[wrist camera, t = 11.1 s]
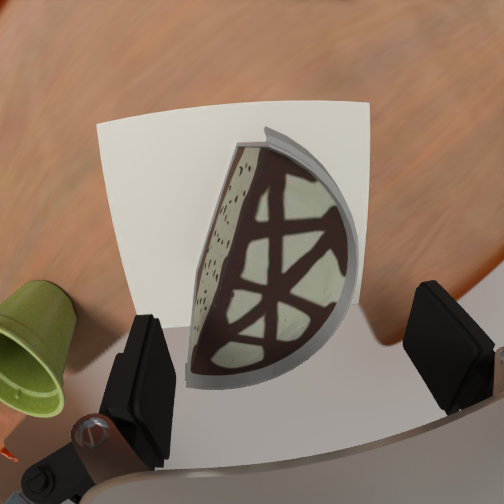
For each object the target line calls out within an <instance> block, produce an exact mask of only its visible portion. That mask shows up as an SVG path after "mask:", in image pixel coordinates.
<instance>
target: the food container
mask: <svg viewBox="0 0 504 504" xmlns="http://www.w3.org/2000/svg"><path fill="white" fill-rule="evenodd" d="M264 132H265V135H266V138H267V139H266V142H242V143H237V144H236V147H235V150H234V153H233V156H232V159H231V162H230V165H229V168H228V171H227V174H226V177H225V180H224V183H223V186H222V189H221V192H220V195H219V198H218V201H217V204H216V207H215V210H214V214H213V217H212V220H211V223H210V226H209V230H208V233H207V236H206V239H205V242H204V246H203V249H202V252H201V256H200V259H199V262H198V266H197V269H196V275H195V284H194V294H193V304H192V314H191V325H190V337H189V349H188V362H187V363H186V365H185V381H186V387H188V388H195V389H203V390H224V389H234V388H242V387H246V386H251V385H255V384H259V383H262V382H265V381H268V380H271V379H273V378H276V377H278V376H280V375H282V374H284V373H286V372H288V371H290V370H292V369H294V368H295V367H297V366H298V365H300V364H302V363H303V362H305V361H306V360H308V359H309V358H310V357H311V356H312V355H313V354H314V353H316V352H317V351H318V350H319V349H320V348H322V346H323V345H324V344H325V343H326V342H327V341H328V340H329V339H330V337H331V336H332V335H333V334H334V333H335V331H336V329H337V328H338V327H339V325H340V323H341V322H342V320H343V319H344V317H345V315H346V313H347V311H348V308H349V306H350V304H351V302H352V299H353V295H354V292H355V288H356V285H357V277H358V268H359V250H358V236H357V232H356V228H355V224H354V220H353V216H352V214H351V212H350V210H349V207H348V205H347V203H346V201H345V199H344V196H343V195H342V193H341V191H340V189H339V188H338V186H337V184H336V183H335V181H334V180H333V178H332V177H331V176H330V174H329V173H328V171H327V170H326V169H325V167H324V166H323V165H322V164H321V163H320V162H319V161H318V160H317V159H316V158H315V157H314V156H313V155H312V154H311V153H310V152H309V151H308V150H307V149H306V148H304V147H303V146H301V145H300V144H298V143H297V142H295V141H294V140H292V139H291V138H289V137H288V136H286V135H284V134H282V133H280V132H277V131H275V130H273V129H271V128H268V127H266V126H265V127H264Z"/></svg>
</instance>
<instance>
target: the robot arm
mask: <svg viewBox="0 0 504 504" xmlns="http://www.w3.org/2000/svg"><path fill="white" fill-rule="evenodd" d="M494 346H495V344H494V342H493V341H492V340H491V339H490V338H489V337H488V336H487V334H486V333H485V332H484V331H483V330H482V329H481V328H480V327H479V325H478V324H477V323H476V322H475V321H474V320H473V319H472V318H471V317H470V316H469V314H468V313H467V312H466V311H465V310H464V309H463V308H462V307H461V306H460V305H459V304H458V303H457V302H456V301H455V300H454V299H453V298H452V297H451V296H450V295H449V293H448V292H447V291H446V290H445V289H444V288H443V287H442V286H441V285H440V284H439V283H438V282H437V281H435V280H431V281H426V282H422V283H420V285H419V287H417V288H416V291H415V296H414V300H413V304H412V308H411V312H410V316H409V320H408V324H407V327H406V331H405V334H404V338H403V347H404V350H405V351H406V353H407V354H408V356H409V357H410V359H411V361H412V362H413V364H414V366H415V367H416V369H417V370H418V372H419V374H420V375H421V377H422V378H423V380H424V382H425V383H426V385H427V387H428V388H429V390H430V392H431V393H432V395H433V397H434V398H435V400H436V402H437V404H438V405H439V407H440V408H441V409H442V410H445V412H446V414H447V416H446V417H444V418H441V419H439V420H437V421H434V422H431V423H428V424H426V425H423V426H421V427H417V428H415V429H412V430H409V431H406V432H403V433H400V434H397V435H393V436H390V437H387V438H384V439H381V440H377V441H373V442H370V443H366V444H363V445H359V446H354V447H350V448H346V449H342V450H338V451H333V452H328V453H324V454H319V455H313V456H309V457H303V458H297V459H291V460H284V461H277V462H270V463H261V464H252V465H241V466H230V467H217V468H196V469H174V470H157V471H155V467H161V468H163V467H164V459H169V455H170V441H171V430H172V418H173V407H174V397H175V387H176V373H175V369H174V366H173V363H172V360H171V357H170V354H169V351H168V347H167V344H166V341H165V337H164V334H163V330H162V327H161V323H160V320H159V318H154V316H153V315H152V314H144V315H136V316H135V318H134V321H133V324H132V327H131V330H130V333H129V337H128V340H127V343H126V346H125V349H124V353H118V354H117V355H116V357H115V360H114V363H113V366H112V369H111V372H110V376H109V379H108V382H107V385H106V389H105V392H104V396H103V399H102V403H101V406H100V410H99V413H98V414H97V413H94V414H88V415H85V416H83V417H81V418H80V419H78V420H77V421H76V423H75V424H74V425H73V427H72V429H71V434H70V438H71V442H70V443H68V444H67V445H65V446H64V447H62V448H60V449H59V450H57V451H55V452H54V453H52V454H51V455H49V456H47V457H46V458H44V459H42V460H41V461H39V462H37V463H36V464H34V465H32V466H31V467H30V468H28V469H27V470H26V471H25V473H24V475H23V477H22V481H21V487H22V490H21V491H20V492H19V493H18V492H17V491H15V492H14V493H13V494H12V495H11V496H10V497H9V499H8V500H7V501H6V502H5V503H4V504H504V347H501V348H499V349H497V351H496V352H494V350H493V348H494ZM460 409H461V411H459V410H460Z"/></svg>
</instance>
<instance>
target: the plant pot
mask: <svg viewBox="0 0 504 504" xmlns="http://www.w3.org/2000/svg"><path fill="white" fill-rule="evenodd" d="M76 322H77V317H76V315H75V313H74V310H73V306H72V303H71V301H70V299H69V298H68V297H67V295H66V294H65V293H64V292H63V291H62V290H61V289H59V288H58V287H57V286H55V285H53V284H52V283H49V282H47V281H29V282H27V283H26V284H24V285H23V286H22V287H21V288H19V289H18V290H17V291H16V292H15V293H13V294H12V295H11V296H10V297H9V298H7V299H6V300H5V301H4V302H3V303H1V304H0V401H2V402H3V403H5V404H6V405H8V406H9V407H11V408H13V409H15V410H18V411H20V412H22V413H25V414H28V415H32V416H35V417H52V416H56V415H57V414H59V413H60V412H61V411H62V409H63V407H64V403H65V395H64V391H63V373H64V368H65V364H66V359H67V355H68V351H69V348H70V344H71V340H72V337H73V333H74V330H75V326H76Z"/></svg>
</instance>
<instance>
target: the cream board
mask: <svg viewBox="0 0 504 504" xmlns="http://www.w3.org/2000/svg"><path fill="white" fill-rule="evenodd" d="M96 125H97V133H98V141H99V148H100V155H101V161H102V168H103V174H104V180H105V185H106V191H107V196H108V201H109V206H110V211H111V216H112V221H113V225H114V230H115V234H116V239H117V243H118V247H119V251H120V255H121V259H122V263H123V267H124V271H125V274H126V278H127V282H128V285H129V289H130V293H131V296H132V299H133V303H134V306H135V309H136V313H137V315H144V314H152V315H153V316H154V318H159V320H160V323H161V327H162V328H174V327H185V326H190V325H191V314H192V304H193V294H194V284H195V275H196V269H197V266H198V262H199V259H200V256H201V252H202V249H203V246H204V242H205V239H206V236H207V233H208V230H209V226H210V223H211V220H212V217H213V214H214V210H215V207H216V204H217V201H218V198H219V195H220V192H221V189H222V186H223V183H224V180H225V177H226V174H227V171H228V168H229V165H230V162H231V159H232V156H233V153H234V150H235V147H236V144H237V143H242V142H266V139H267V138H266V135H265V132H264V127H265V126H266V127H268V128H271V129H273V130H275V131H277V132H280V133H282V134H284V135H286V136H288V137H289V138H291V139H292V140H294V141H295V142H297V143H298V144H300V145H301V146H303V147H304V148H306V149H307V150H308V151H309V152H310V153H311V154H312V155H313V156H314V157H315V158H316V159H317V160H318V161H319V162H320V163H321V164H322V165H323V166H324V167H325V169H326V170H327V171H328V173H329V174H330V176H331V177H332V178H333V180H334V181H335V183H336V184H337V186H338V188H339V189H340V191H341V193H342V195H343V196H344V199H345V201H346V203H347V205H348V207H349V210H350V212H351V214H352V216H353V220H354V224H355V228H356V232H357V236H358V250H359V268H358V277H357V285H356V288H355V292H354V295H353V299H352V302H351V304H350V305H354V304H359V297H360V289H361V281H362V272H363V263H364V253H365V242H366V229H367V215H368V198H369V174H370V103H365V102H347V101H266V102H247V103H233V104H221V105H211V106H201V107H193V108H185V109H177V110H170V111H163V112H157V113H151V114H145V115H139V116H134V117H128V118H123V119H118V120H114V121H109V122H104V123H100V124H96Z"/></svg>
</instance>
